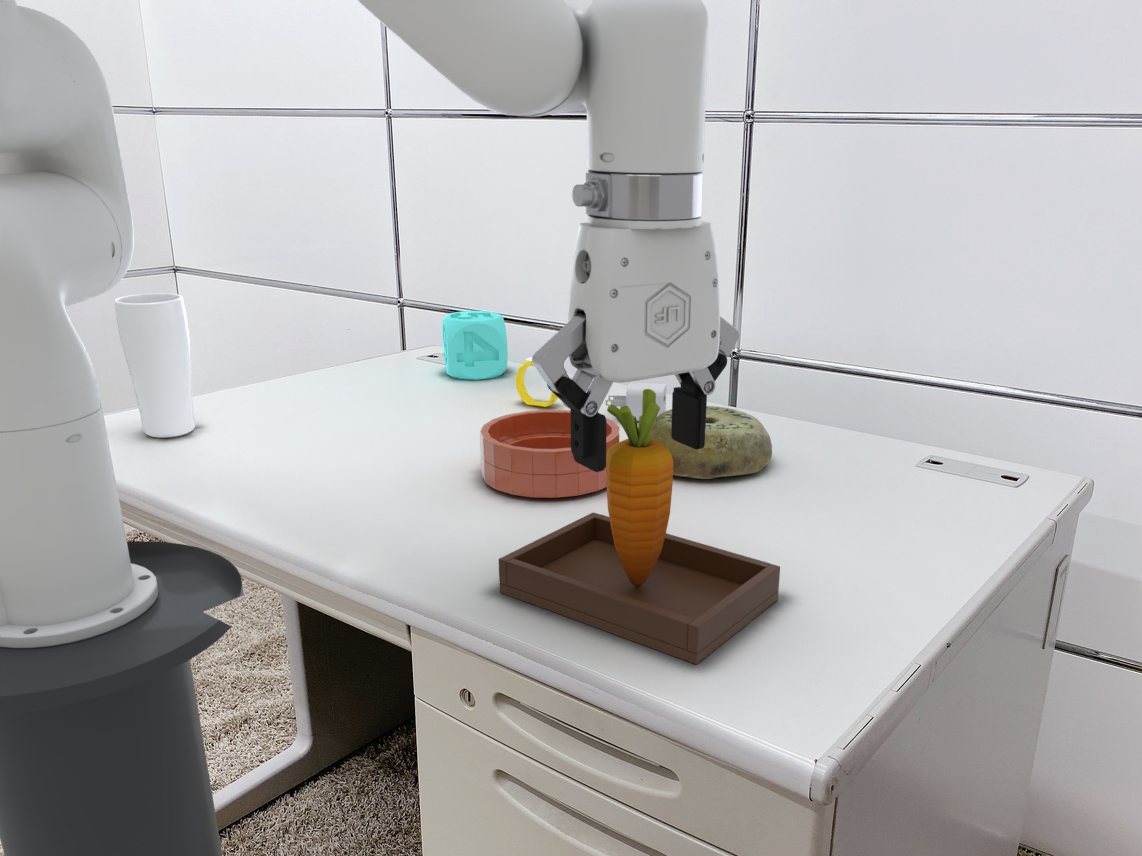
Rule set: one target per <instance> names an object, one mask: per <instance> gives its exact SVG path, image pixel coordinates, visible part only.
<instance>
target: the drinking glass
mask: <svg viewBox="0 0 1142 856" xmlns="http://www.w3.org/2000/svg"><path fill="white" fill-rule="evenodd" d="M113 302H114V309H115V319H116V325H117V330H118V334H119V339H120V344H121V348H122V352H123V355H124V359H125V363H126V366H127V370H128V372H129V378H130V381H131V385H132V388H133V392H134V396H135V399H136V400H135V401H136V403H137V407H138V411H139V415H140V419H141V420H140V421H141V427H142V430H143V432H144V434H145V435H147V436H149V437H152V438H156V439H157V438H161V439H165V438H166V439H167V438H175V437H181V436H184V435H187V434H189V433H191V432H193V431H194V429H195V427H196V418H195V412H194V399H193V383H192V381H193V380H192V364H191V363H192V362H191V346H190V345H191V344H190V332H189V325H188V318H187V311H186V307H185V303H184V297H183V296H182V295H180V294H177V293H170V292H169V293H168V292H151V293H150V292H149V293H138V294H129V295H124V296H120V297H117V298H115V300H114V301H113Z"/></svg>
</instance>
